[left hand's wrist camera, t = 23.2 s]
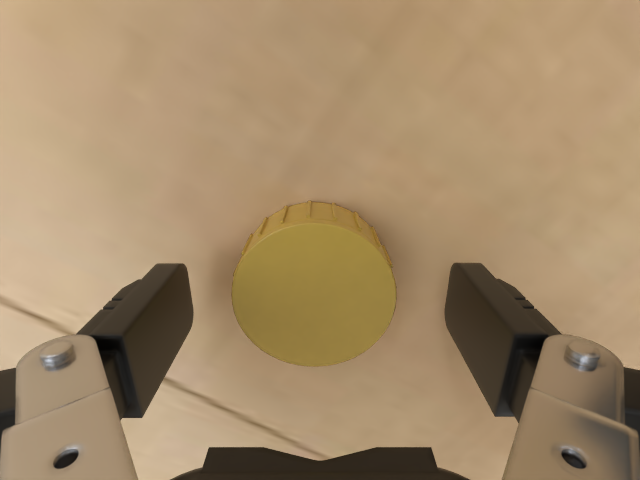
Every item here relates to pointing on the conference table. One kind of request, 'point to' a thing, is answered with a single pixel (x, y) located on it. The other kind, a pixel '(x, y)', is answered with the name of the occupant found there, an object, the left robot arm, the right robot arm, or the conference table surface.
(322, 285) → the lid
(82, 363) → the left robot arm
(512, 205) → the conference table surface
